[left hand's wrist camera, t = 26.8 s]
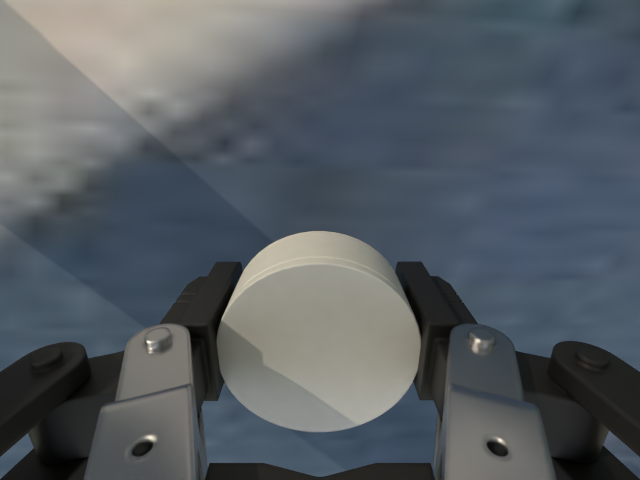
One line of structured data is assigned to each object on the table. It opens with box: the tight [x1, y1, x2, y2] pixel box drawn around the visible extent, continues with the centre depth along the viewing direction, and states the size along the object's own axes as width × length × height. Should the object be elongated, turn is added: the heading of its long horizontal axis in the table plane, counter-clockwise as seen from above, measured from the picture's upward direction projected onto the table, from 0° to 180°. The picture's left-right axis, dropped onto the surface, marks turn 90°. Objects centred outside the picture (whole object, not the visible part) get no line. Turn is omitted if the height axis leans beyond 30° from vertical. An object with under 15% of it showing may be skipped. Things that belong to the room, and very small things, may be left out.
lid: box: [216, 231, 421, 432], centre depth 10 cm, size 5×5×2 cm
